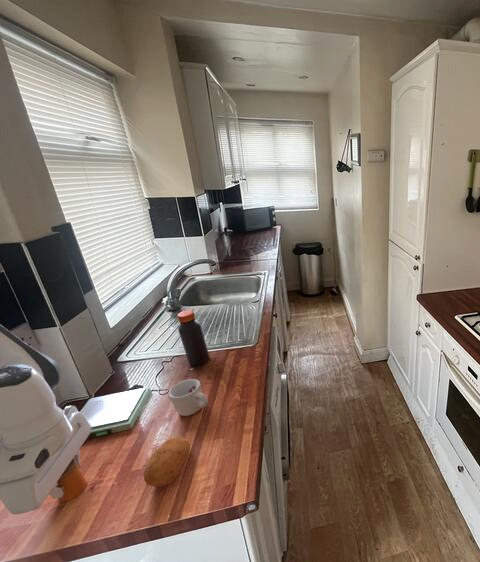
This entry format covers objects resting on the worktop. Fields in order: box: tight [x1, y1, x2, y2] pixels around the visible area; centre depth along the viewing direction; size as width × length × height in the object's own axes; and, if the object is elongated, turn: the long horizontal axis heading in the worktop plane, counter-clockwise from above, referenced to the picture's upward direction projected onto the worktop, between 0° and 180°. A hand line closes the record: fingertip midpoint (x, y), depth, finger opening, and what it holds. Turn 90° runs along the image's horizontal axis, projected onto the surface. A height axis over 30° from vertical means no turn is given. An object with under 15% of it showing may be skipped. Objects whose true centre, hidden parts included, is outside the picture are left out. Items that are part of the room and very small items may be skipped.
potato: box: [143, 436, 191, 488], centre depth 72 cm, size 7×13×7 cm, turn 8°
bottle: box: [176, 309, 211, 368], centre depth 109 cm, size 7×7×20 cm
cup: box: [167, 378, 209, 417], centre depth 89 cm, size 11×8×8 cm
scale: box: [79, 387, 152, 440], centre depth 89 cm, size 16×16×3 cm
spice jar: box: [56, 459, 88, 502], centre depth 68 cm, size 5×5×7 cm
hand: (68, 481), depth 68 cm, fingers closed on spice jar, 4 cm apart
